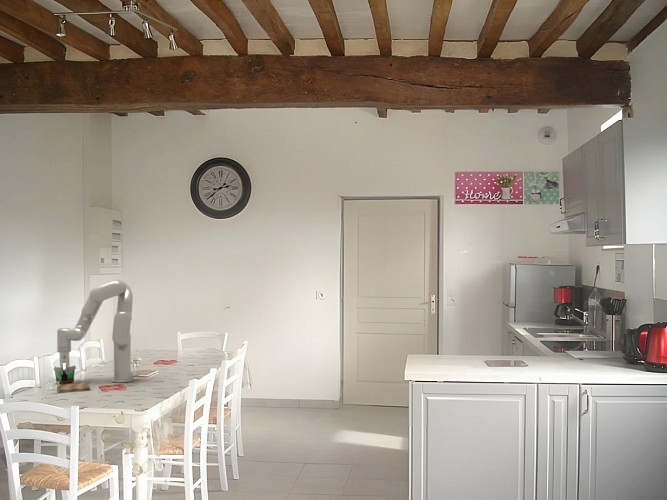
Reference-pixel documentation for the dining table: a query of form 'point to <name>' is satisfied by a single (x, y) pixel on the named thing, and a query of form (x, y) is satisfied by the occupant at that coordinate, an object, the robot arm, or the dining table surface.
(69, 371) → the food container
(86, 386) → the shelf board
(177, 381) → the dining table surface
